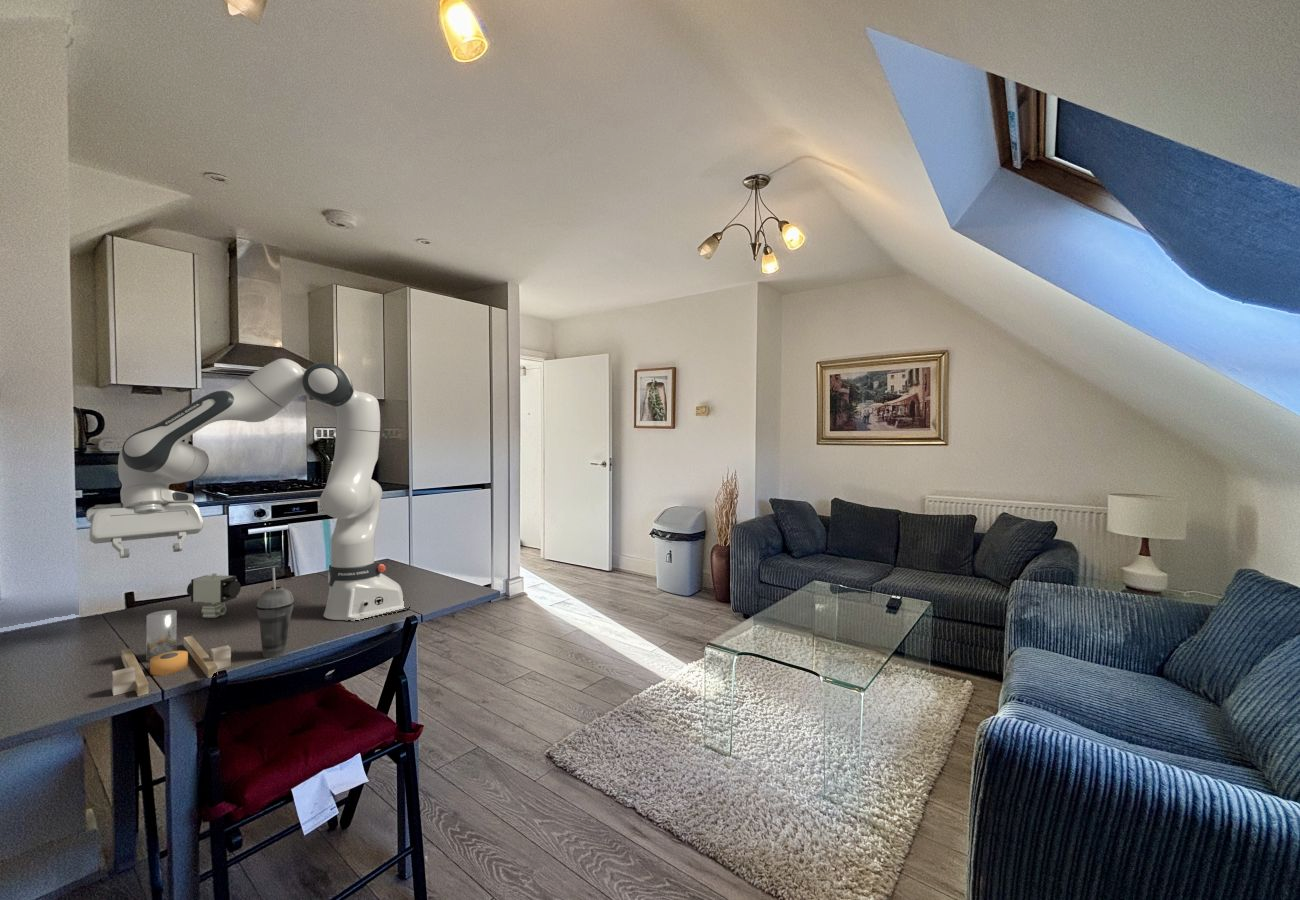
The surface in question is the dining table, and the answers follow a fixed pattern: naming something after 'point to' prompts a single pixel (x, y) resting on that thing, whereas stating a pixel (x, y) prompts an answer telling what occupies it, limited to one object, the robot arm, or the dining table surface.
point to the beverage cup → (275, 619)
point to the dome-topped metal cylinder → (161, 633)
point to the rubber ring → (168, 663)
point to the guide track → (137, 681)
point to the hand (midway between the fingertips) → (152, 553)
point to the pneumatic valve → (213, 593)
